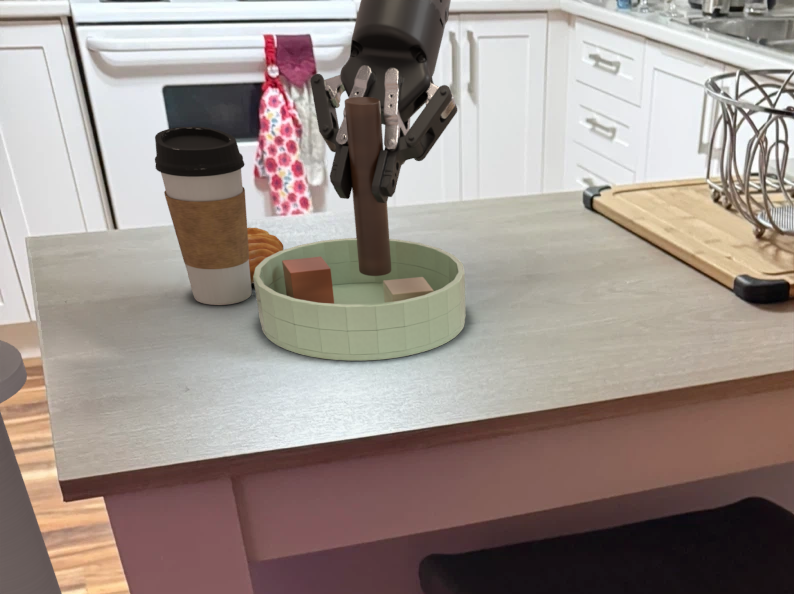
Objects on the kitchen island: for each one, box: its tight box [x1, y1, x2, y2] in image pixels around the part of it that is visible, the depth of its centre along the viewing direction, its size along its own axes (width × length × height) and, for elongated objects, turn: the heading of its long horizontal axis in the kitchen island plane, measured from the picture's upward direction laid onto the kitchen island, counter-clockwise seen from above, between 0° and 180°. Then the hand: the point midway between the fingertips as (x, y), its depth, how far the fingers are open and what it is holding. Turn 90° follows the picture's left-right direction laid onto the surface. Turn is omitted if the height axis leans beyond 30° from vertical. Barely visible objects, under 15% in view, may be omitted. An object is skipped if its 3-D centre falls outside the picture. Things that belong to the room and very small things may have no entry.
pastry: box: [247, 227, 284, 285], centre depth 113 cm, size 9×7×4 cm
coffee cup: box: [154, 126, 253, 306], centre depth 104 cm, size 8×8×15 cm
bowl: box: [253, 237, 467, 362], centre depth 103 cm, size 20×20×5 cm
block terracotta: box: [282, 257, 334, 304], centre depth 105 cm, size 4×4×4 cm
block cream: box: [383, 277, 434, 303], centre depth 101 cm, size 4×4×4 cm
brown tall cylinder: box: [344, 97, 391, 276], centre depth 93 cm, size 3×3×14 cm
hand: (360, 194), depth 92 cm, fingers closed on brown tall cylinder, 3 cm apart
